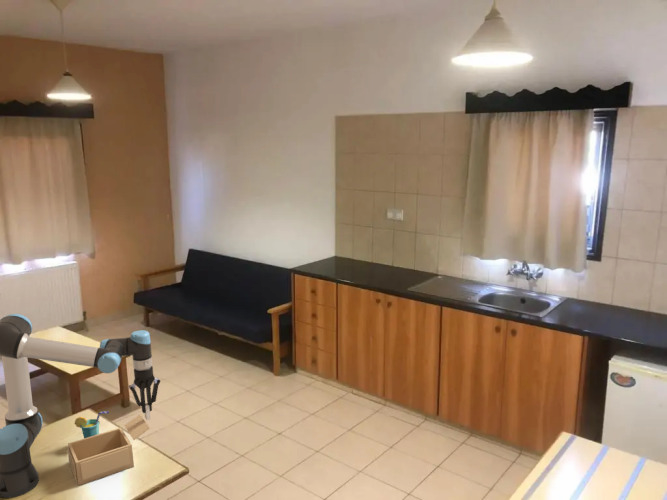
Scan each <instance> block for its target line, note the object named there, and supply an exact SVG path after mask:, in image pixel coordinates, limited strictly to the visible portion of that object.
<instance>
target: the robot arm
mask: <svg viewBox="0 0 667 500" xmlns="http://www.w3.org/2000/svg"><path fill="white" fill-rule="evenodd" d="M32 324H33V323H32V321H31V320H30V319H29V318H28V317H26V315H23V314H20V313H10V314H7V315H5V316H4V317H2V318H1V319H0V357H1V360H2V368H3V375H4V384H5V385H4V386H5V391H6V401H7V409H8V410H7V411H6V413H5V415H4V420H5V421H4V423H5V426H3V427H2V428H0V499H10V498H12V499H13V498H15V497H19V496H22V495H25V494H27V493H28V492H30V491H32V490H33V489H35V488H36V486H38V484H39V483H40V476H39V472H38V471H37V468H36V467H35V466H34V464H33V462H32V456H31V446H32V445H33V444H34V442H35V440H36V439H37V437H38V435H39V434H40V432H41V430H42V427H43V416H42V415H41V413H40V412H39V411H38V407H36V406H35V405H34V404H33V396H32V395H33V394H32V386H31V378H30V376H31V375H30V369H29V368H30V367H29V361H28V358H29V359H36V360H42V361H48V362H49V361H50V362H57V363H62V364H63V363H64V364H71V365H78V366H84V367H91V368H97V369H98V371H100V372H102V373H103V374H112V373H114V372H116V371H117V369H118V367H119V366H120V364H121V362H122V359H123V357H131V356H132V364H133V375H134V376H133V377H134V379H133V383H132V384H131V385H130V384H129V385H128V388H129V390H130V391H131V392H132V395H133V397H134V401H135V403H136V405H137V406H138V407H141V411H142V413H143V414H144V418H145V419H144V420H145V421H151V412H152V411H153V407H152V405H153V403H156V401H157V395H158V390H159V385H160V383H161V380H160V378H159V377H155V374H154V366H153V355H152V342H151V336H150V335H151V334H150V332H149V331H148V330H146V329H145V330H143V329H141V330H134V331H133V332H132V333H131V334H130V337H129V336H128V337H121V338H119V337H118V338H108V339H103V340H101V341H100V343H99V347H96V346H89V345H83V344H77V343H70V342H64V341H59V340H58V341H57V340H53V339H45V338H39V337H33V336H32V337H31V336H30V335H31V333H32V330H33V325H32ZM152 384H153V386H152ZM151 387H152V389H151ZM136 388H138V389H139V395H138V393H137V391H136ZM145 390H146V391H145ZM151 390H152V392H151ZM145 392H146V395H145ZM139 396H140V397H139Z"/></svg>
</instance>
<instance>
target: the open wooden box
mask: <svg viewBox="0 0 667 500" xmlns="http://www.w3.org/2000/svg"><path fill="white" fill-rule="evenodd" d="M66 448H67V456H68V457H67V458H68V463H69V467H70V468H71V471H72V474H73V477H74V479H75V481H76V483H77V485H78V487H80V486H83V485H86V484H89V483H92V482H94V481H97V480H101V479H103V478H106V477H109V476H113V475H116V474H118V473H120V472H123V471H126V470H129V469H132V468H134V467H135V465H134V455H133V445H132V443H131V441H130V440H129V438H128V437H127V435H126V433H125V431H124V430H123V429H122V427H118V428H115V429H114V428H113V429H111V430H107V431H105V432H102V433H99V434H97V435H94V436H91V437H88V438H84V437H83V438H81V439H77V440H76V441H72V442H71V441H70V442H68V443H67V446H66Z"/></svg>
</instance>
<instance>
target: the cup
mask: <svg viewBox="0 0 667 500" xmlns="http://www.w3.org/2000/svg"><path fill="white" fill-rule="evenodd" d="M104 414H105V415H106V414H109V411H99V413H98V414H97V416H96V418H94V419H93V418H92V419H91V418H90V419H86V418H85V417H82V416H79V417H77V418H75V420H74V425H75V427H76V428H80V429H81V431H82V435H83V439H84V438H88V437H91V436H94V435H97V434H100V421H99V419H100V416H101V415H104Z"/></svg>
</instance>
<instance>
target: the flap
mask: <svg viewBox="0 0 667 500" xmlns="http://www.w3.org/2000/svg"><path fill="white" fill-rule="evenodd" d="M124 427H125V428H126V431H127V432H128V434H129V435H130V437H131V439H132V440H133V441H135V440H137V438H139V437H140V436H141V435H143V434H145V432H147V431H148V430H150V429H151V427H150V426H149V425H148V424H147V422H146V420H145V419H144V418H143V417H142V415H141V414H138V415H137V416H135V417H134V418H132V419H131V420H129V422H127V423H126V424H124Z"/></svg>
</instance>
